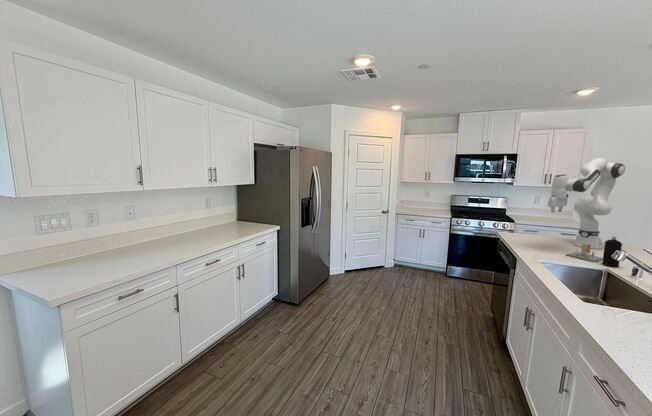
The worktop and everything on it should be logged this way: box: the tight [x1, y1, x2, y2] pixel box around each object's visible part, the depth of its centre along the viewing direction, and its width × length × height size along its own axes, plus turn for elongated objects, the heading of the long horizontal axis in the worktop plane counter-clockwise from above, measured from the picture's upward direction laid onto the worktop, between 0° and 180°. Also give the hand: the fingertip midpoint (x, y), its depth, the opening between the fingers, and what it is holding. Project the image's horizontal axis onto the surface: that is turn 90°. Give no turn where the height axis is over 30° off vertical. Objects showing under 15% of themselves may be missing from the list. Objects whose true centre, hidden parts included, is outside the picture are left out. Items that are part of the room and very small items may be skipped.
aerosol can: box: [601, 236, 623, 268], centre depth 180 cm, size 8×8×20 cm
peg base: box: [565, 250, 603, 263], centre depth 197 cm, size 14×17×5 cm
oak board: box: [580, 243, 592, 257], centre depth 197 cm, size 5×3×9 cm, turn 115°
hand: (556, 212), depth 214 cm, fingers open, 8 cm apart
